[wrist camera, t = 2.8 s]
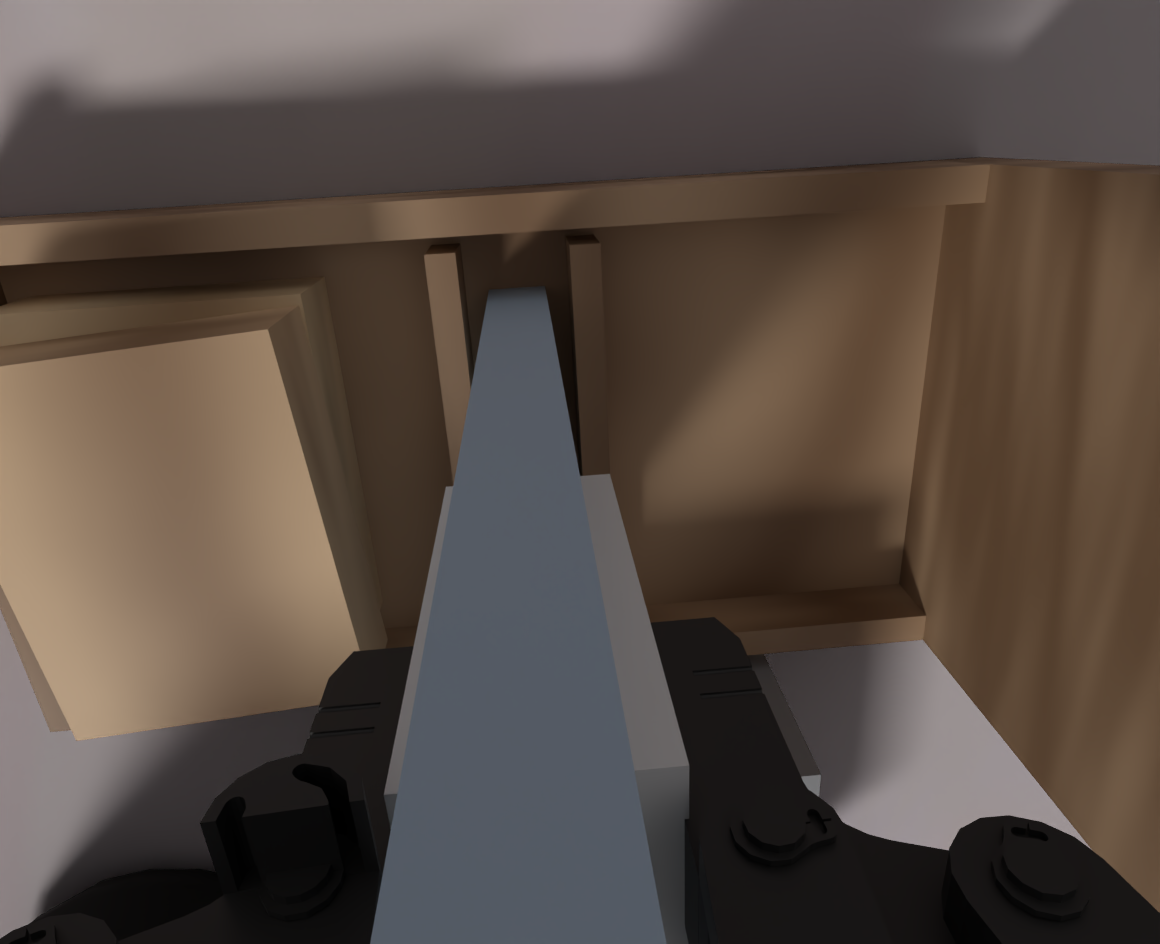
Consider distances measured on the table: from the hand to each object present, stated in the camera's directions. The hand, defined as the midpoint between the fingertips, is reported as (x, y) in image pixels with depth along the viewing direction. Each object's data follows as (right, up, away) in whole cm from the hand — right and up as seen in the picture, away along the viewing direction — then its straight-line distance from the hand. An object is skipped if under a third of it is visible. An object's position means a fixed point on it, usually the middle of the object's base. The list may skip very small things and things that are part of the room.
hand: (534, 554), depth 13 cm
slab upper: (-7, +1, +3) cm, 8 cm away
